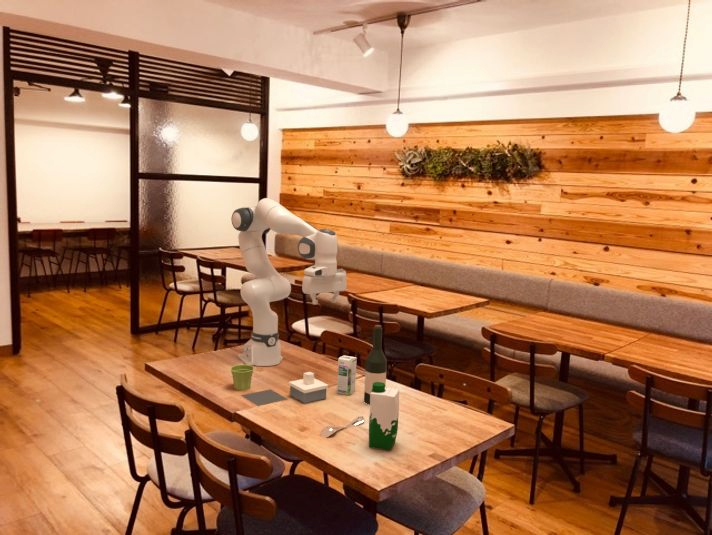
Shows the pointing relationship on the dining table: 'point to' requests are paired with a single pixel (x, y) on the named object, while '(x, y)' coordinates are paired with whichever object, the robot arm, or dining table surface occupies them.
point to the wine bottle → (375, 364)
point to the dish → (308, 395)
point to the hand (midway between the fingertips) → (324, 303)
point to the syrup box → (346, 375)
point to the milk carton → (383, 416)
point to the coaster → (264, 397)
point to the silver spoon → (331, 429)
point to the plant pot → (242, 376)
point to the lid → (308, 383)
